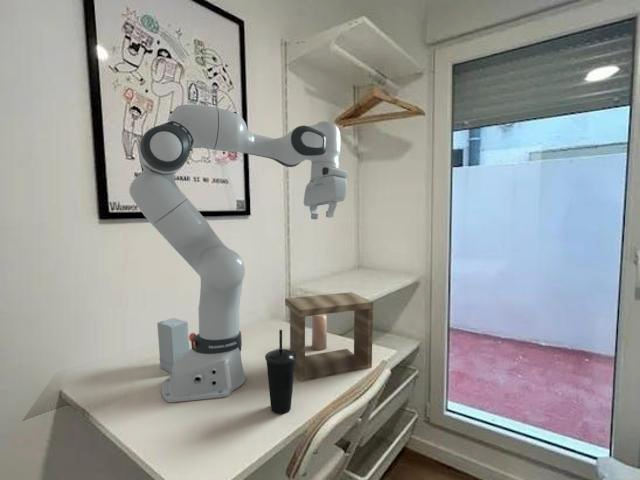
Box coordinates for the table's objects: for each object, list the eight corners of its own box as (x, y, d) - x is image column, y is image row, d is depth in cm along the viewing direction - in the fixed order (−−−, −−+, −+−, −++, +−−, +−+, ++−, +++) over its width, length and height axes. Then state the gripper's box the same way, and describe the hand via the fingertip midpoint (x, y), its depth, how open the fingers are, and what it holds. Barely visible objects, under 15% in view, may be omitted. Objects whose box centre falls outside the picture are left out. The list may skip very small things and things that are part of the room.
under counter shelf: (299, 381, 100) (300, 310, 98) (285, 362, 113) (285, 298, 111) (371, 367, 109) (373, 301, 108) (350, 350, 122) (351, 292, 120)
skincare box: (191, 368, 108) (189, 321, 106) (172, 375, 103) (171, 326, 102) (176, 361, 113) (175, 316, 112) (158, 367, 108) (156, 321, 107)
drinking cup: (298, 401, 90) (298, 325, 88) (293, 418, 82) (293, 336, 80) (269, 399, 90) (269, 324, 89) (261, 416, 83) (261, 335, 81)
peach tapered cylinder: (315, 351, 122) (315, 317, 121) (309, 345, 126) (310, 313, 125) (328, 349, 124) (329, 316, 123) (322, 343, 128) (323, 312, 127)
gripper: (300, 178, 117) (297, 219, 117) (333, 166, 100) (330, 214, 99) (316, 181, 120) (314, 221, 120) (351, 171, 103) (348, 217, 102)
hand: (321, 218), depth 109 cm, fingers open, 8 cm apart
